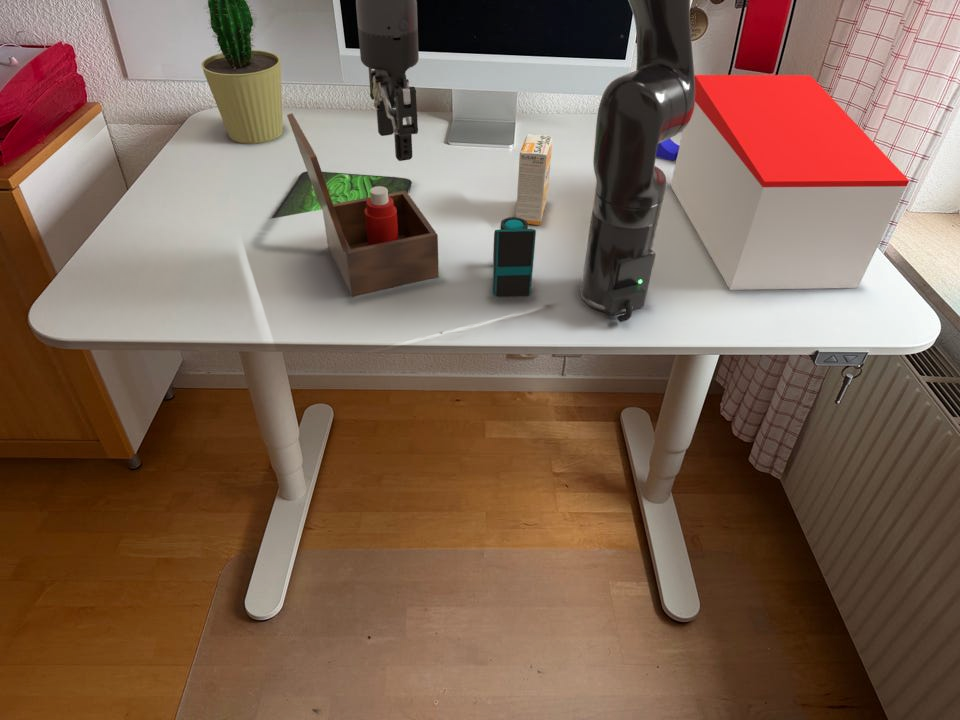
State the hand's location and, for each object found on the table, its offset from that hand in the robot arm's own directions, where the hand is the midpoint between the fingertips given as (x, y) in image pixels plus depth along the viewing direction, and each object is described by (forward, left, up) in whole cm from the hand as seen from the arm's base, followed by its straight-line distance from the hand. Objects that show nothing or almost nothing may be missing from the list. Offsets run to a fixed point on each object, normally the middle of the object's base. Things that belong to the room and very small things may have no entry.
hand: (395, 146), depth 95 cm
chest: (0, +3, -20) cm, 20 cm away
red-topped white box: (-13, -60, -20) cm, 65 cm away
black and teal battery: (-11, -14, -20) cm, 27 cm away
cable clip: (+17, -66, -20) cm, 71 cm away
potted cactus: (+60, +13, -20) cm, 64 cm away
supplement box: (+7, -27, -20) cm, 34 cm away
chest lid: (0, +11, -3) cm, 12 cm away
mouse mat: (+20, +5, -20) cm, 28 cm away
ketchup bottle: (0, +3, -19) cm, 19 cm away
